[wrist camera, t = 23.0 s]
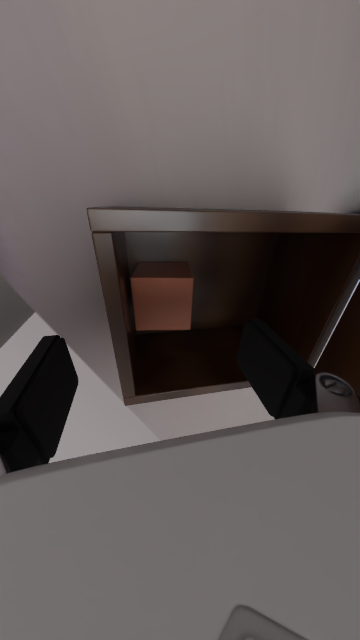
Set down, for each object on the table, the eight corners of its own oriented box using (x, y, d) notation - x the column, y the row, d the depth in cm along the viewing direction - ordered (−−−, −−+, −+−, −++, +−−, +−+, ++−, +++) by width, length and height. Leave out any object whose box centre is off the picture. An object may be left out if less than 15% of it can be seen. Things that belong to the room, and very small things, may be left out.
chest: (128, 337, 22) (124, 406, 14) (111, 206, 15) (85, 207, 8) (255, 326, 25) (307, 379, 17) (286, 211, 18) (392, 215, 11)
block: (136, 330, 15) (190, 330, 16) (130, 277, 13) (193, 277, 13) (142, 306, 19) (186, 306, 19) (138, 261, 17) (188, 262, 17)
